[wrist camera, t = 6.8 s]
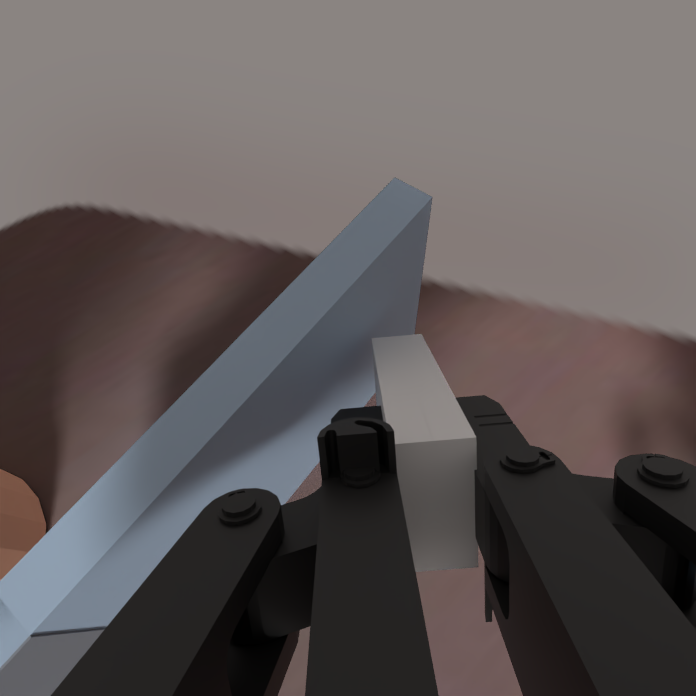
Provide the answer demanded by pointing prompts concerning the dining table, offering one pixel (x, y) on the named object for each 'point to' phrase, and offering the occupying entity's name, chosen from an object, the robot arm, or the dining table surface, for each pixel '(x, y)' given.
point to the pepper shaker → (18, 521)
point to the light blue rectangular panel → (219, 439)
